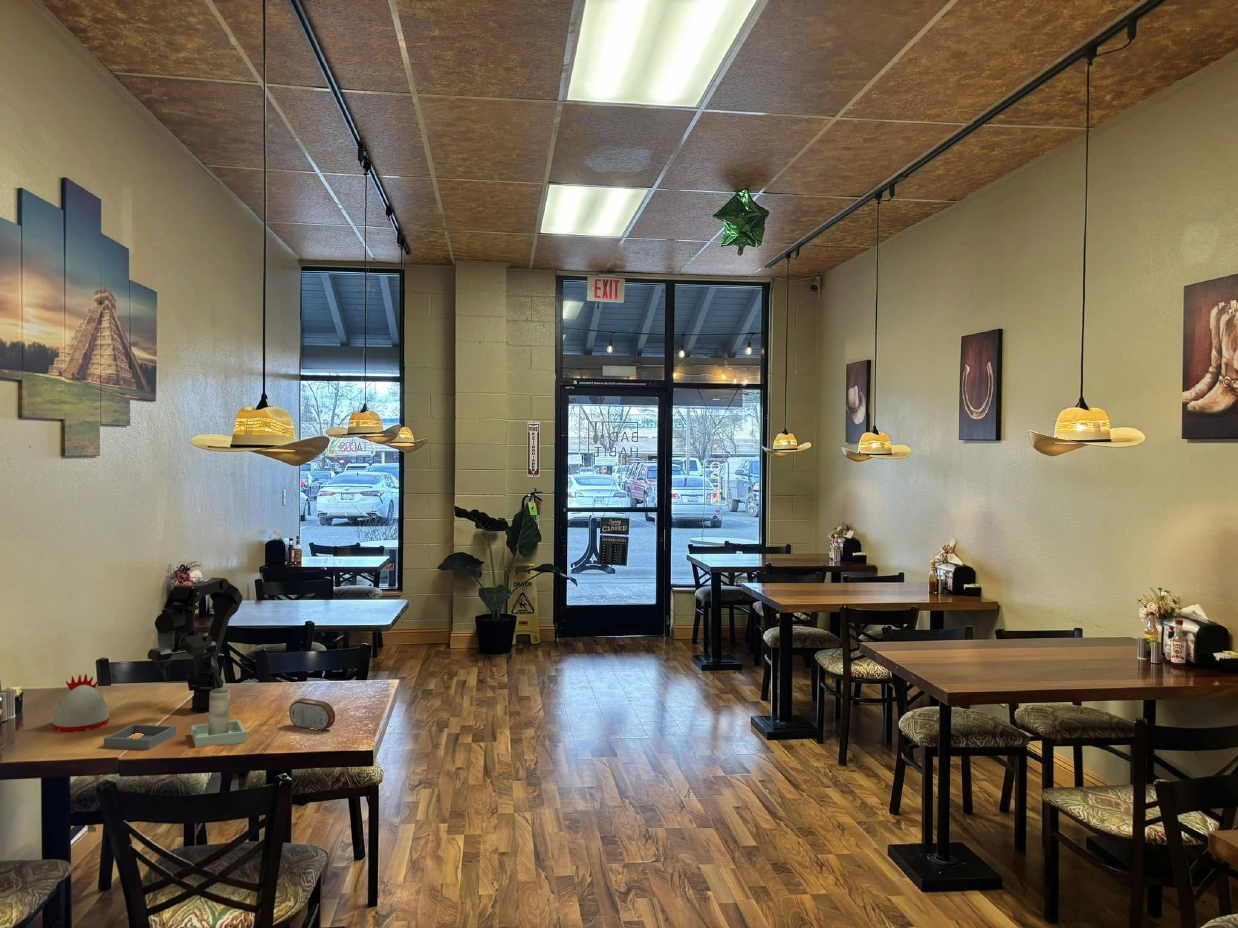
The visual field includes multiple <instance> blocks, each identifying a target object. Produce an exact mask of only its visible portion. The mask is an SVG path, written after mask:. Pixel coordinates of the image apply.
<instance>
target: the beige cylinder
mask: <svg viewBox="0 0 1238 928" xmlns="http://www.w3.org/2000/svg"><path fill="white" fill-rule="evenodd" d="M230 699H231V690H230V689H229V688H227V687H226V688H225V687H222V688H217V689H213V690H211V691H210V699H209V711H208V723H209V725H208V736H210V735H218V734H225V733H228V731H229V721H230V701H231V700H230Z"/></svg>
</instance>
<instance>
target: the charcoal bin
mask: <svg viewBox="0 0 1238 928" xmlns="http://www.w3.org/2000/svg"><path fill="white" fill-rule="evenodd" d="M135 733H142V734H144V735H143V736H142V737H141V738H139V739H133V738H127V737H129V736H131V735H132V734H135ZM176 735H177V726H176V725H159V724H158V725H157V724H140V723H139V724H135V723H133V724H131V725H129V726H127V727H124V728H123V729H120V730H117V732H113V733H112V734H110V735H107V736H105V737H104V738H103V748H105V749H124V750H127V749H128V750H147V751H149V750H151V749H153V748H155V747H157V746H158V745H160V744H163V743H164V742H166V741H168V740H170V739H172V738H174V737H175V736H176Z"/></svg>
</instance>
